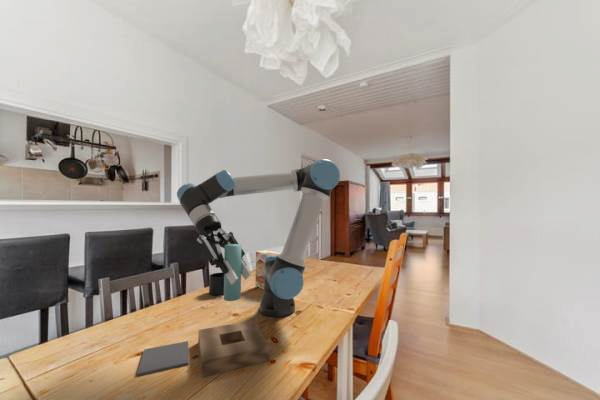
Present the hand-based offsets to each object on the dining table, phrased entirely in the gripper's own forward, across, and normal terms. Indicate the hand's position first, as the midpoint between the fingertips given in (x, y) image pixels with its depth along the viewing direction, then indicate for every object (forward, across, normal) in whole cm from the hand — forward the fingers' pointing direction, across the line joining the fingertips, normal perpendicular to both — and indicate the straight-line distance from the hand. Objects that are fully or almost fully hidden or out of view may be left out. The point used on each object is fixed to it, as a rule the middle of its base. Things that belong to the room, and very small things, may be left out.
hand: (241, 278), depth 75 cm
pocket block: (+13, 0, -18) cm, 22 cm away
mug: (-17, -34, -48) cm, 61 cm away
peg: (+2, 0, -7) cm, 7 cm away
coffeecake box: (-5, -53, -37) cm, 65 cm away
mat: (+3, +12, -28) cm, 31 cm away
